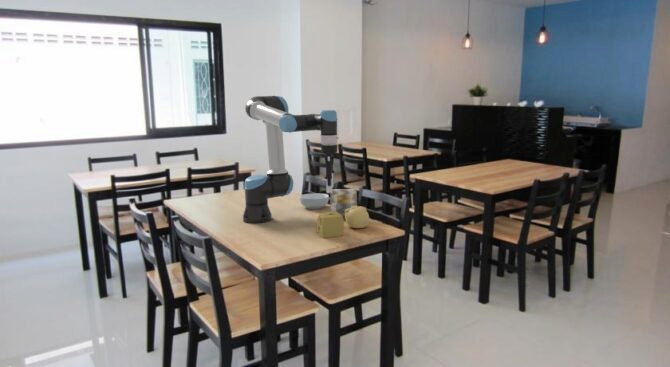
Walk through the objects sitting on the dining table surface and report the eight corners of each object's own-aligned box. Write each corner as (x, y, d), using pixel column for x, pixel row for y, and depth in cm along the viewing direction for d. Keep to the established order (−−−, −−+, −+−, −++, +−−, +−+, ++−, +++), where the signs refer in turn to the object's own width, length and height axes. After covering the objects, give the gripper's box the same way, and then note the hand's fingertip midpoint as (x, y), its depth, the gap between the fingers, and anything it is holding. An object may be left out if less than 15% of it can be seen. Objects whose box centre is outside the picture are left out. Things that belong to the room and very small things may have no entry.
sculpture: (362, 222, 240) (362, 202, 237) (372, 228, 229) (372, 207, 226) (342, 225, 236) (342, 204, 233) (351, 231, 225) (351, 210, 222)
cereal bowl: (330, 204, 279) (330, 192, 278) (327, 211, 263) (327, 199, 262) (302, 204, 281) (302, 192, 279) (297, 211, 265) (297, 198, 263)
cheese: (316, 232, 224) (316, 212, 222) (337, 230, 227) (337, 210, 225) (322, 238, 214) (322, 217, 212) (344, 236, 217) (344, 215, 215)
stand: (330, 219, 245) (330, 191, 242) (330, 216, 251) (330, 188, 248) (356, 219, 245) (356, 191, 242) (356, 216, 251) (356, 188, 248)
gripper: (336, 147, 200) (337, 195, 204) (338, 141, 224) (338, 184, 228) (319, 147, 200) (320, 195, 204) (322, 141, 225) (323, 184, 229)
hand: (330, 189), depth 216 cm, fingers open, 13 cm apart
